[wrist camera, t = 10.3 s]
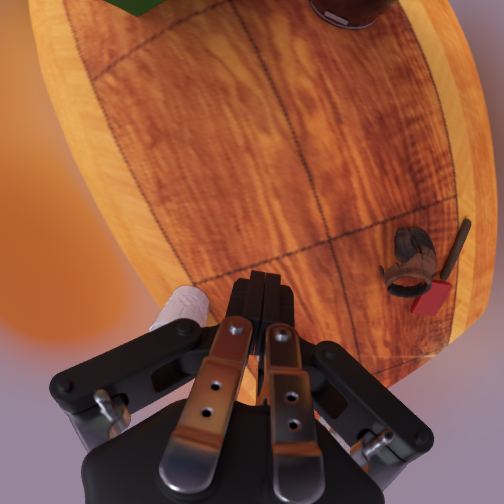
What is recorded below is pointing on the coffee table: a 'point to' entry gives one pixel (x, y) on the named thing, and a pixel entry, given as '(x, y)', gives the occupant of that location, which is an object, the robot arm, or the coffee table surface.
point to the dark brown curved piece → (411, 262)
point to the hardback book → (135, 5)
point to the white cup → (184, 307)
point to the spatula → (439, 289)
